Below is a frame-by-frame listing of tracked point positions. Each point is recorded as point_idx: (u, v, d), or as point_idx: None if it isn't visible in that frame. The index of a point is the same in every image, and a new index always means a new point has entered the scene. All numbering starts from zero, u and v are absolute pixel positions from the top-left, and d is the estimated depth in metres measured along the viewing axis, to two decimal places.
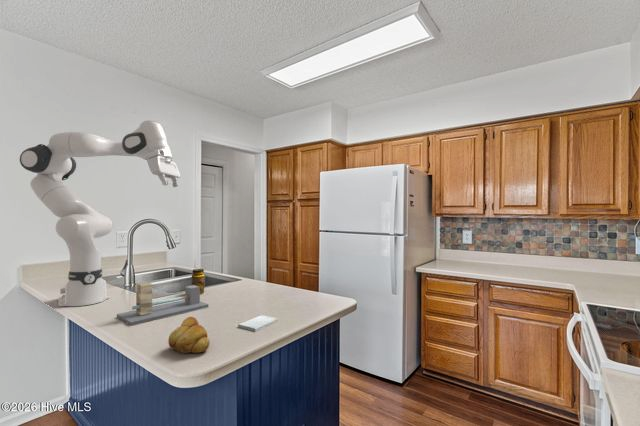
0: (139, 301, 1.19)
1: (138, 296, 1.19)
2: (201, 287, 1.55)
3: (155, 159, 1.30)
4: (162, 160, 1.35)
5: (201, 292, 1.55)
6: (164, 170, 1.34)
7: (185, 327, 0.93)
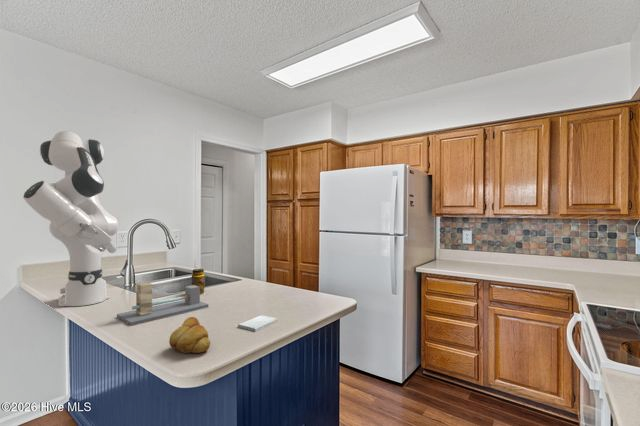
0: (139, 301, 1.19)
1: (138, 296, 1.19)
2: (201, 287, 1.55)
3: None
4: None
5: (201, 292, 1.55)
6: (85, 243, 1.12)
7: (186, 327, 0.93)
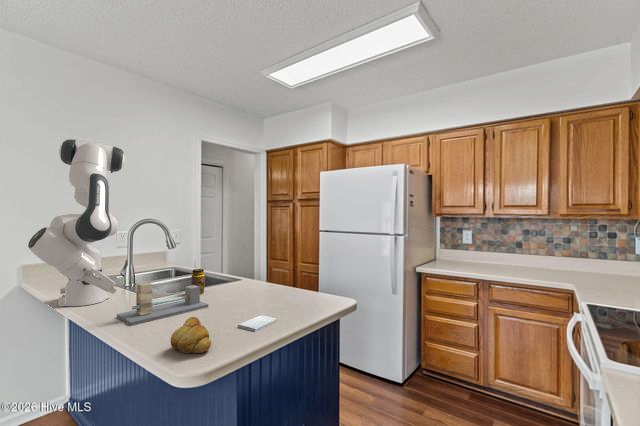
0: (139, 301, 1.19)
1: (138, 296, 1.19)
2: (201, 287, 1.55)
3: None
4: None
5: (201, 292, 1.55)
6: (90, 283, 1.12)
7: (187, 327, 0.93)
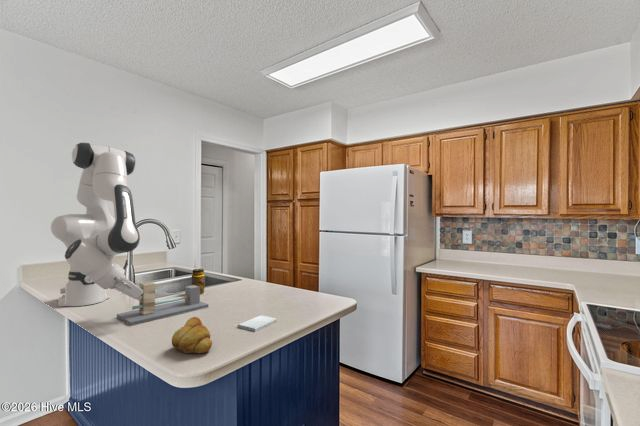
0: (142, 300, 1.20)
1: None
2: (201, 287, 1.55)
3: None
4: None
5: (201, 292, 1.55)
6: None
7: (188, 327, 0.93)
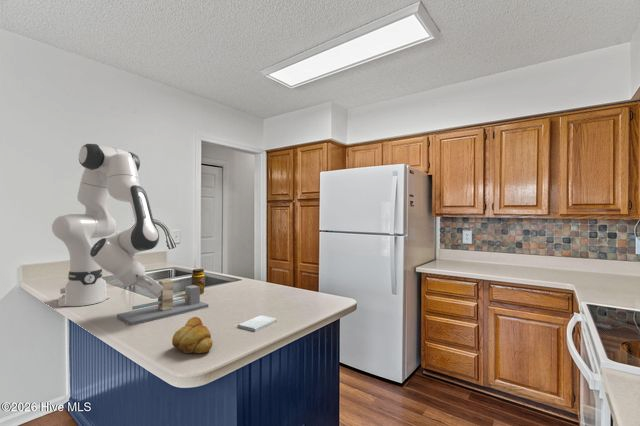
0: (161, 297, 1.25)
1: None
2: (201, 287, 1.55)
3: None
4: None
5: (201, 292, 1.55)
6: (138, 287, 1.24)
7: (189, 327, 0.93)
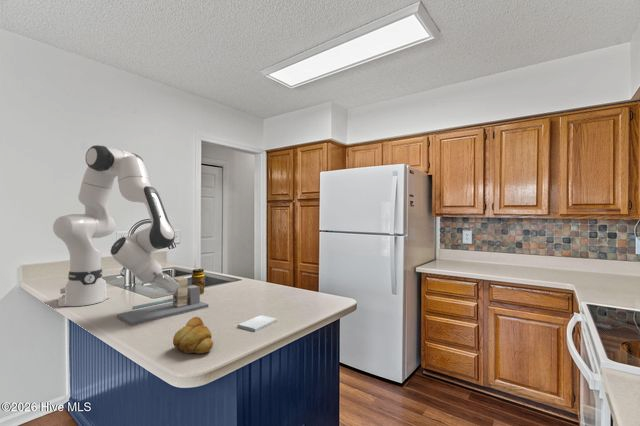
0: (176, 294, 1.30)
1: None
2: (201, 287, 1.55)
3: None
4: None
5: (201, 292, 1.55)
6: (154, 285, 1.29)
7: (189, 327, 0.93)
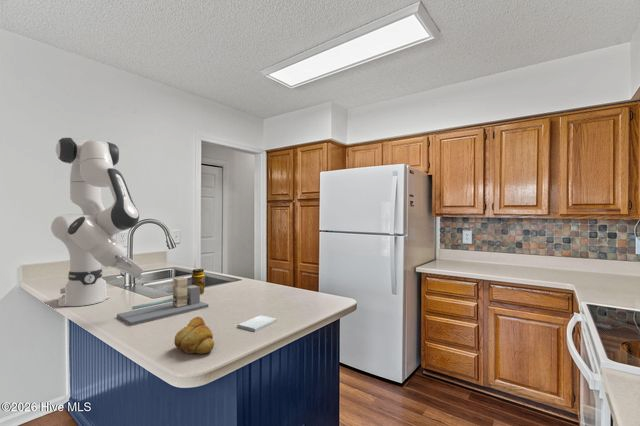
0: (176, 294, 1.29)
1: (174, 290, 1.30)
2: (201, 287, 1.55)
3: None
4: None
5: (201, 292, 1.55)
6: (119, 269, 1.22)
7: (191, 327, 0.93)
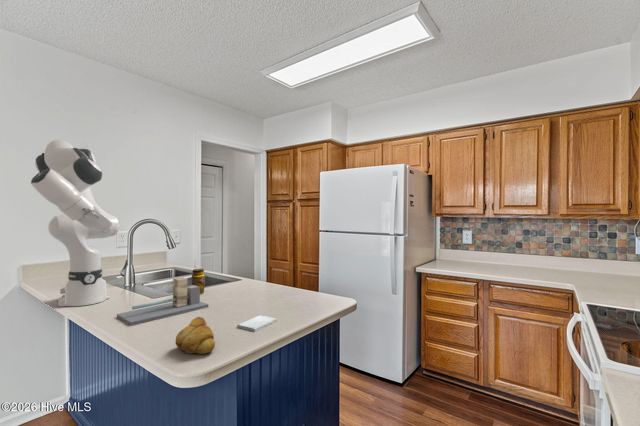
0: (176, 294, 1.29)
1: (174, 290, 1.30)
2: (201, 287, 1.55)
3: None
4: None
5: (201, 292, 1.55)
6: (89, 227, 1.20)
7: (192, 327, 0.93)
